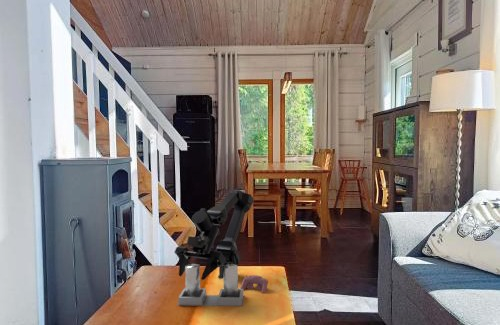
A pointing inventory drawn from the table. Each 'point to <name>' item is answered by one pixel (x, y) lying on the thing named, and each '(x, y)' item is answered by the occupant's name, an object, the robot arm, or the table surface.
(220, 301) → the grey socket holder
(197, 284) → the cylinder
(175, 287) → the table surface
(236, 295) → the billet
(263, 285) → the video game controller
